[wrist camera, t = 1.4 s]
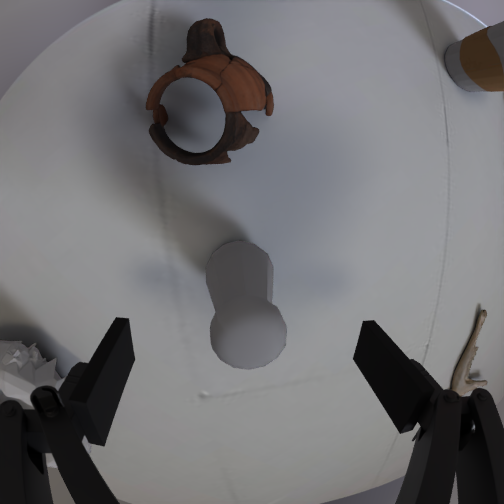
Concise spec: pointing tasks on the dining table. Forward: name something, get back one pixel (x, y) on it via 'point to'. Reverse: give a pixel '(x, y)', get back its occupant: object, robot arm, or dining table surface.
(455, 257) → the dining table surface
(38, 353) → the bowl
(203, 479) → the dining table surface
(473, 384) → the curved driftwood piece
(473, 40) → the coffee cup
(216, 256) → the salt shaker
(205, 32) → the pottery mug
